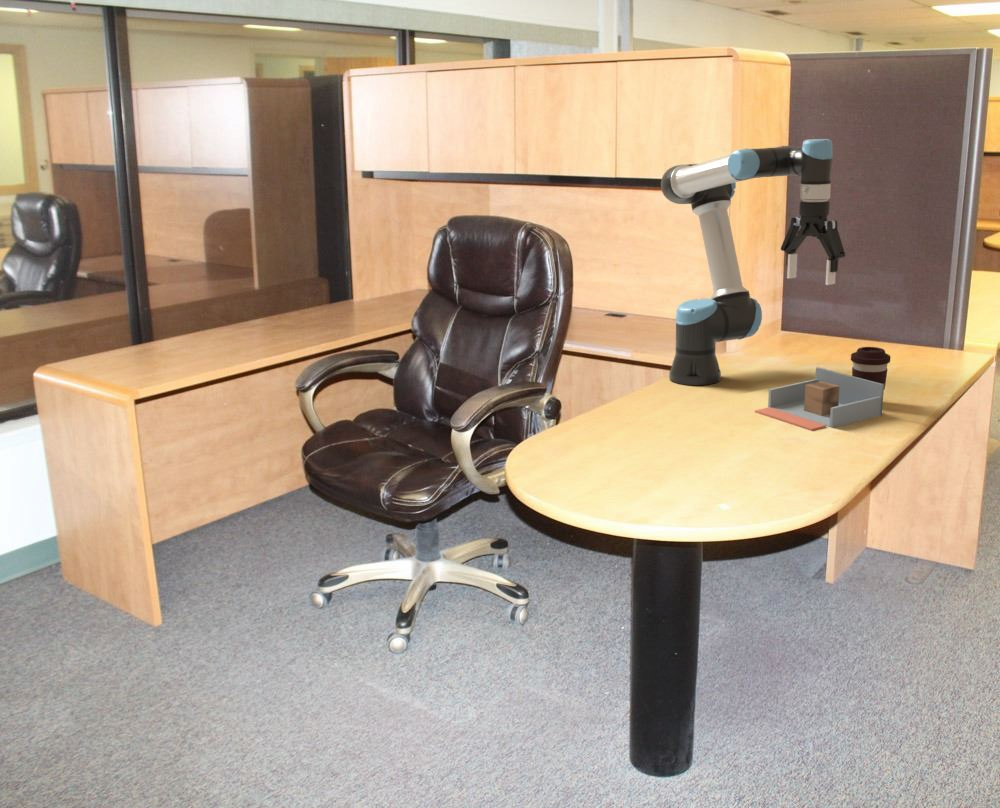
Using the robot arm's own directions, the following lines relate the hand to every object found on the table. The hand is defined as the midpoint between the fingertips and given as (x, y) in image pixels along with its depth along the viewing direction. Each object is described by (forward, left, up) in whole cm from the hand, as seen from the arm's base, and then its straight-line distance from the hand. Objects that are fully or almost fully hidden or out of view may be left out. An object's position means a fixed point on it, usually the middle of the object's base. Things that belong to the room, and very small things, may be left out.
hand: (810, 281), depth 271 cm
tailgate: (+14, -17, -32) cm, 38 cm away
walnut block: (+14, -8, -31) cm, 35 cm away
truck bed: (+14, -7, -33) cm, 36 cm away
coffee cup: (+13, +10, -33) cm, 37 cm away
